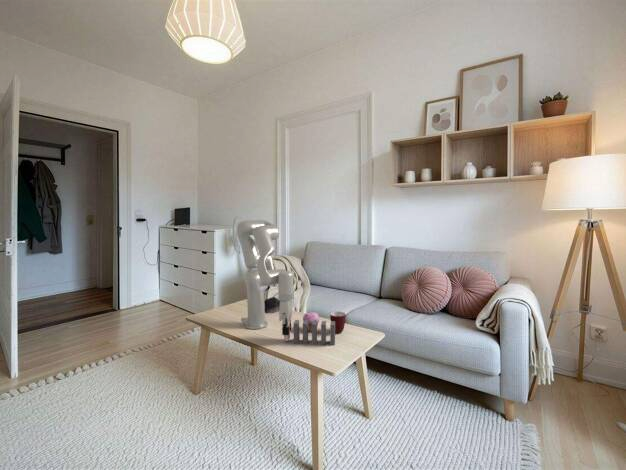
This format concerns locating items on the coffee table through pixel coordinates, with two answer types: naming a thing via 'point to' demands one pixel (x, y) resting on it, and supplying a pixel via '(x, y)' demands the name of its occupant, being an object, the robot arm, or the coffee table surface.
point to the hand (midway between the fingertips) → (286, 332)
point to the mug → (338, 321)
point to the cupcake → (311, 319)
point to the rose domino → (286, 337)
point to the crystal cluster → (272, 305)
